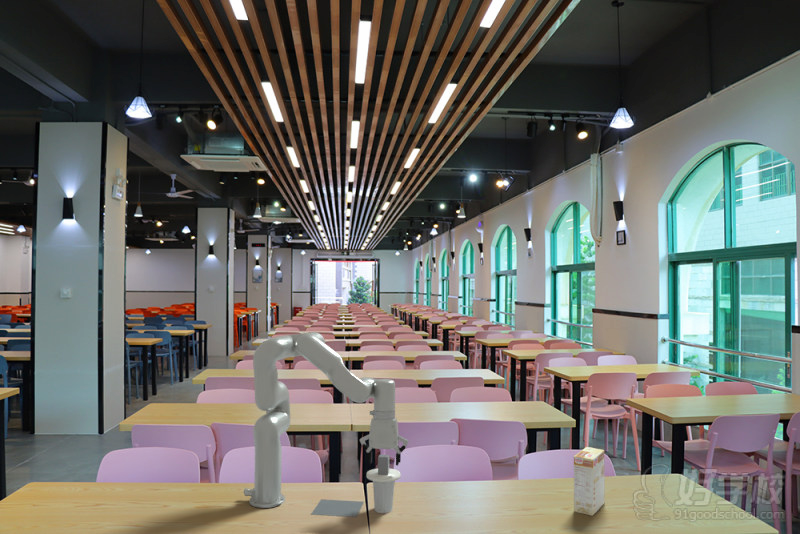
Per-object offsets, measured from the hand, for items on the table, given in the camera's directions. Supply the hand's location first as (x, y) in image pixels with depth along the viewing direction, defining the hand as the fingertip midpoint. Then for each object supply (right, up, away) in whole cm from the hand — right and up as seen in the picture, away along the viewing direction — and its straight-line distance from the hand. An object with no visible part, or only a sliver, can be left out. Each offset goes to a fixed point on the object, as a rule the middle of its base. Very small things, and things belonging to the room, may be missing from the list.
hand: (383, 463), depth 202 cm
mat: (-16, -16, 0) cm, 23 cm away
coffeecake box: (+74, -18, +4) cm, 76 cm away
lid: (0, -4, 0) cm, 4 cm away
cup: (0, -17, -1) cm, 17 cm away
